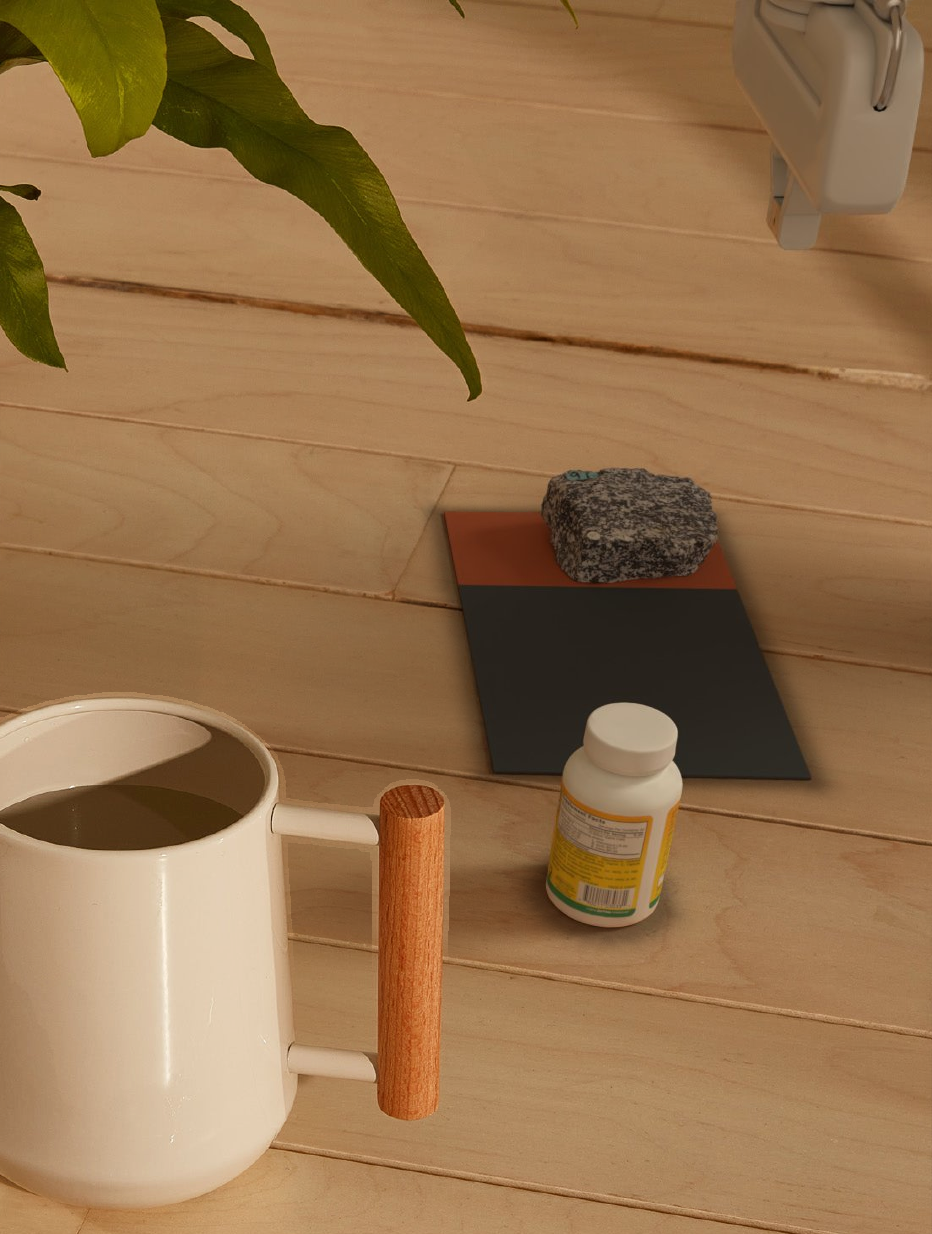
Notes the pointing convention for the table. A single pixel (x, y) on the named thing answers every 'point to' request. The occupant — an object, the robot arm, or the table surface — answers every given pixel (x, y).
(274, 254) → the table surface
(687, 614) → the mat
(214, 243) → the table surface
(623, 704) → the supplement bottle
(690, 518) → the rock
